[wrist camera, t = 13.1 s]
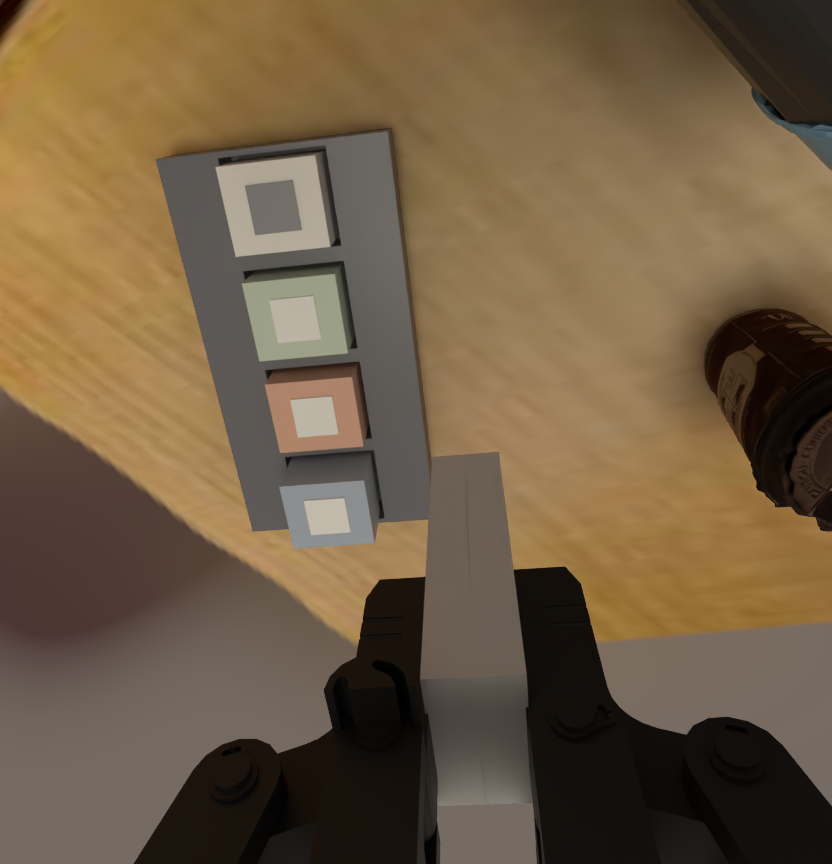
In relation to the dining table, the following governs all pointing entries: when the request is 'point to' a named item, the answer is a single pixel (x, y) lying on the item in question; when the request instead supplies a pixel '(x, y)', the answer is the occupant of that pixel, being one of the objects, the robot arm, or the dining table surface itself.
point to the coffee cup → (779, 404)
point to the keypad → (372, 345)
